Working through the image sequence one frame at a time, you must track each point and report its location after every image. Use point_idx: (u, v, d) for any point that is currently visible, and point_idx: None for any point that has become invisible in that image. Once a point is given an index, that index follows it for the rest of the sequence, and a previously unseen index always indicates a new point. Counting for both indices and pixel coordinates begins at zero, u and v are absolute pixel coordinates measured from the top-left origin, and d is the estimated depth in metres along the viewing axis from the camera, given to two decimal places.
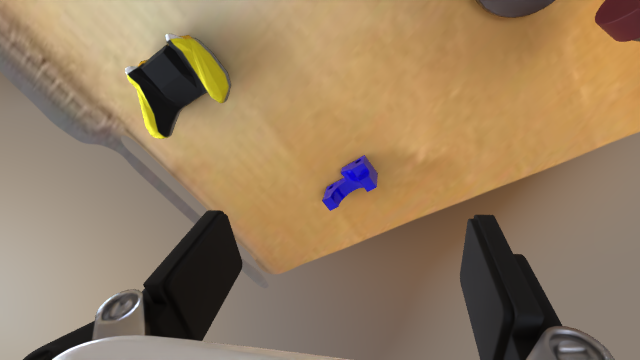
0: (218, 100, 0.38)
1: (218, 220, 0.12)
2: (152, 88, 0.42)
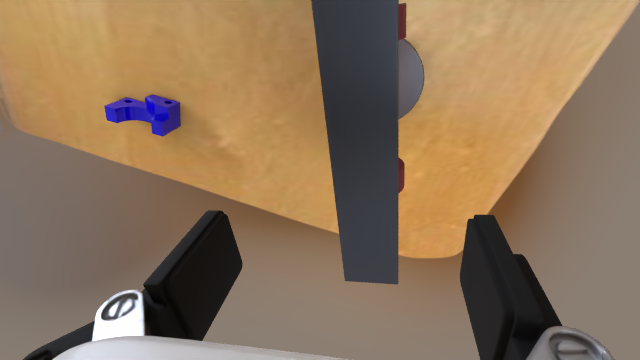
0: None
1: (218, 220, 0.12)
2: None
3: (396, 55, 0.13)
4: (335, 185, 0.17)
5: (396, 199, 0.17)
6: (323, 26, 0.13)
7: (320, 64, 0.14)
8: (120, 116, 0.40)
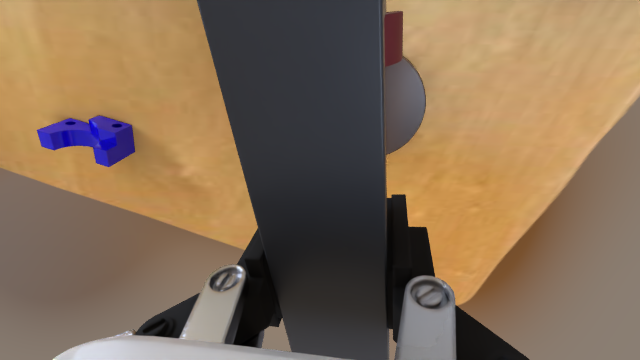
0: None
1: None
2: None
3: (380, 123, 0.06)
4: (283, 313, 0.10)
5: (384, 341, 0.10)
6: (230, 62, 0.06)
7: (234, 131, 0.07)
8: (58, 142, 0.33)
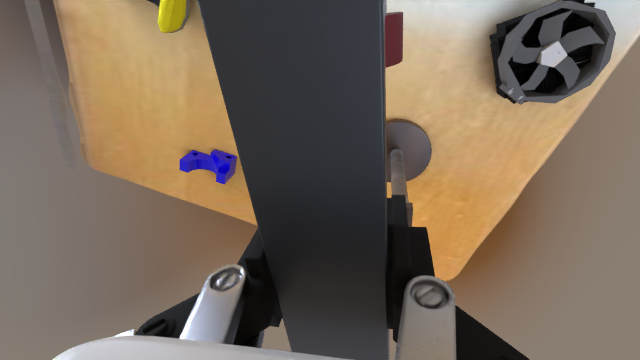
0: (161, 29, 0.39)
1: None
2: None
3: (381, 124, 0.06)
4: (284, 314, 0.10)
5: (385, 342, 0.10)
6: (231, 64, 0.06)
7: (235, 133, 0.07)
8: (190, 167, 0.51)
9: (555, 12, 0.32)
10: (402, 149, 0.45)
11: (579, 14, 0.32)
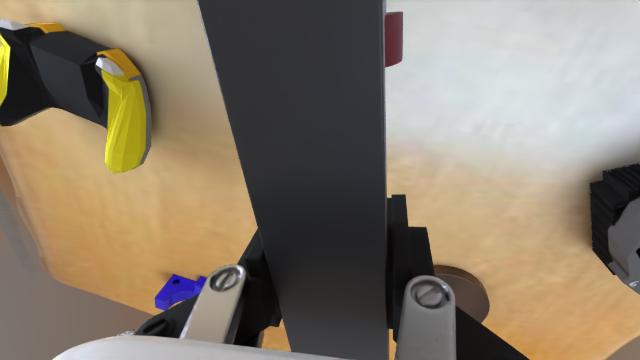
0: (112, 171, 0.28)
1: None
2: (30, 64, 0.26)
3: (380, 124, 0.06)
4: (283, 314, 0.10)
5: (384, 342, 0.10)
6: (230, 63, 0.06)
7: (234, 133, 0.07)
8: (169, 303, 0.40)
9: None
10: None
11: None
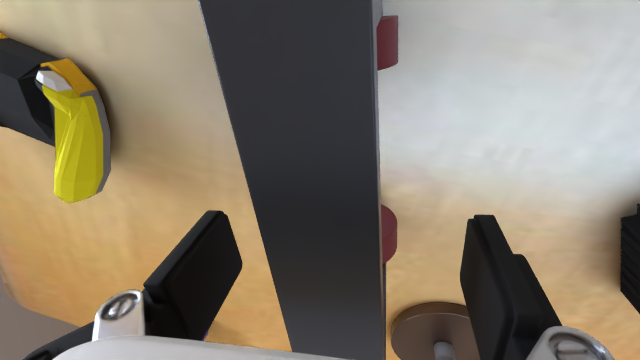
0: (63, 200, 0.24)
1: (218, 220, 0.12)
2: None
3: (372, 124, 0.07)
4: (282, 307, 0.11)
5: (379, 333, 0.11)
6: (232, 68, 0.07)
7: (235, 133, 0.08)
8: None
9: None
10: (453, 343, 0.29)
11: None
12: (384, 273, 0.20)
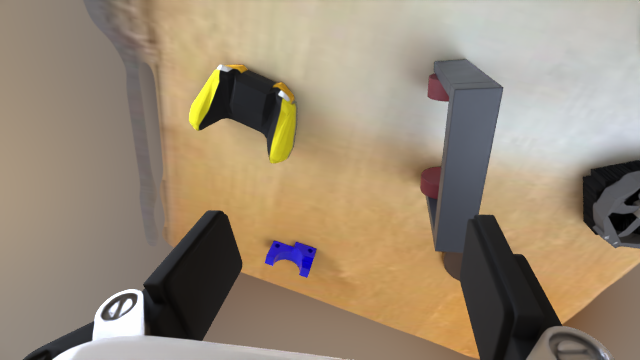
0: (271, 161, 0.42)
1: (218, 220, 0.12)
2: (226, 91, 0.41)
3: (495, 123, 0.25)
4: (443, 190, 0.29)
5: (480, 199, 0.29)
6: (457, 107, 0.25)
7: (451, 125, 0.26)
8: (275, 260, 0.54)
9: None
10: None
11: None
12: None
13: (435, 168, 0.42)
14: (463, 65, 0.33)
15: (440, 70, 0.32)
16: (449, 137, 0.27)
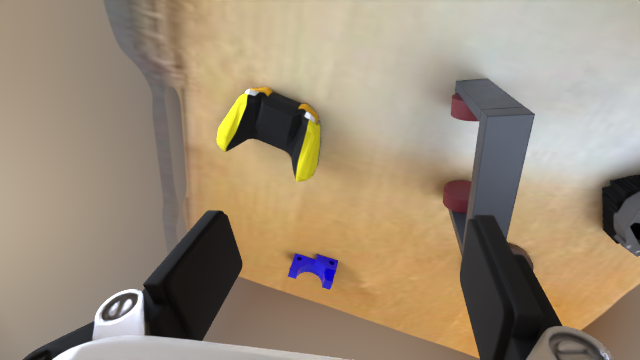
0: (297, 180, 0.43)
1: (218, 220, 0.12)
2: (252, 113, 0.42)
3: (526, 147, 0.26)
4: (474, 209, 0.30)
5: (510, 217, 0.30)
6: (490, 132, 0.26)
7: (483, 149, 0.27)
8: (297, 273, 0.55)
9: None
10: None
11: None
12: None
13: (457, 181, 0.43)
14: (487, 86, 0.34)
15: (465, 92, 0.33)
16: (481, 160, 0.28)
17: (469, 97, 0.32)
